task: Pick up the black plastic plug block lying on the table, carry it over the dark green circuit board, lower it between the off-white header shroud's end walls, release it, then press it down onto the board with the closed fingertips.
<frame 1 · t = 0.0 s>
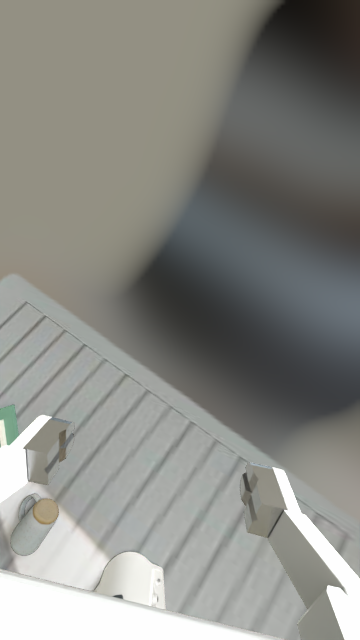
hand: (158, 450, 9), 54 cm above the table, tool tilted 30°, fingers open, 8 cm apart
ceramic mug: (42, 510, 56), on the table
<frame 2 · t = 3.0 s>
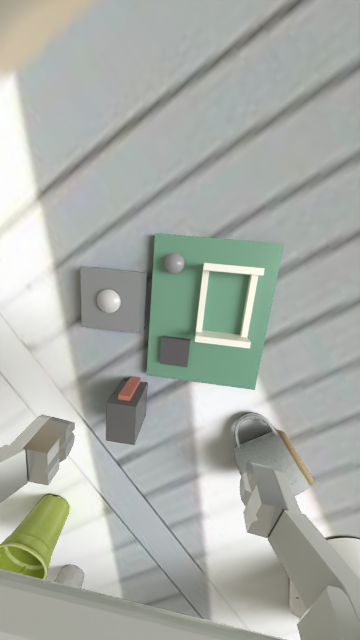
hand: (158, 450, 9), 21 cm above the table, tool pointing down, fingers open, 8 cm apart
plant pot: (56, 504, 40), on the table
house plant: (69, 573, 45), on the table
ceramic mug: (257, 437, 33), on the table
gray push button box: (119, 298, 29), on the table
board: (207, 314, 29), on the table
plug: (134, 397, 33), on the table
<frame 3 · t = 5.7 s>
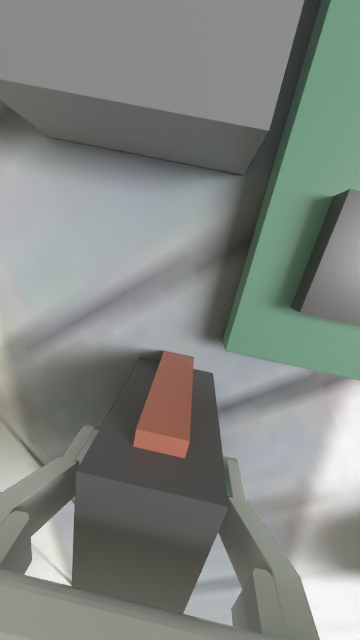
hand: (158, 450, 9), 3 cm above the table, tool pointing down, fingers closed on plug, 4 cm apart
gray push button box: (160, 13, 7), on the table
plug: (166, 409, 12), on the table, touching gripper
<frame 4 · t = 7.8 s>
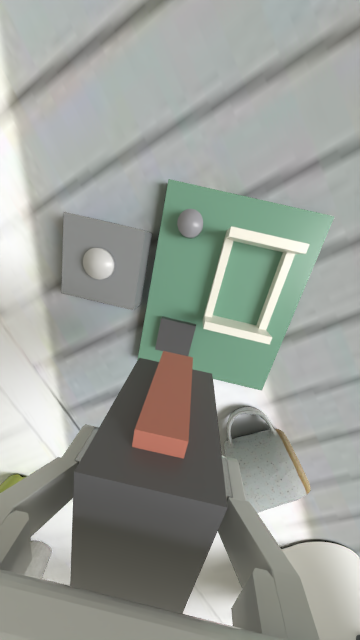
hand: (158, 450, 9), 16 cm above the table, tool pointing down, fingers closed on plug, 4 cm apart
plant pot: (24, 484, 37), on the table
house plant: (36, 548, 43), on the table
ceramic mug: (250, 433, 29), on the table
gray push button box: (112, 262, 23), on the table
board: (220, 297, 23), on the table
plug: (166, 409, 12), point 14 cm above the table, touching gripper
when the fingers open (5 cm above the table, at t = 10.0 s): plug drops 1 cm, resting on board.
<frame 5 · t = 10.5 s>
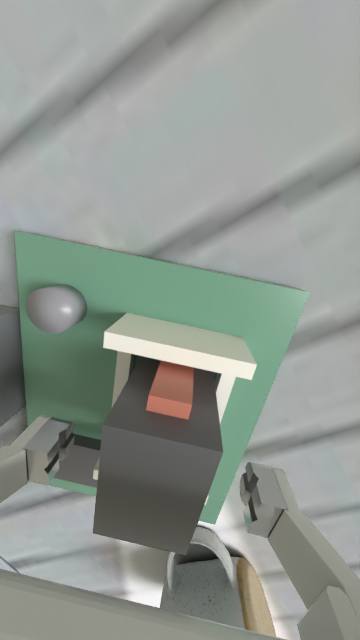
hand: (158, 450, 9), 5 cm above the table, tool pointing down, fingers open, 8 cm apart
ceramic mug: (207, 553, 21), on the table
board: (141, 398, 15), on the table
plug: (170, 392, 13), point 1 cm above the table, touching board
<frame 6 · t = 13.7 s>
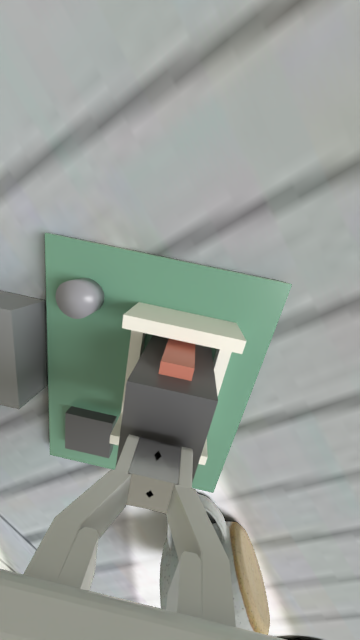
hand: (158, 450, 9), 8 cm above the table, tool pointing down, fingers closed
ceramic mug: (203, 520, 23), on the table
gray push button box: (0, 335, 17), on the table
board: (148, 378, 17), on the table
plug: (174, 372, 15), point 1 cm above the table, touching board
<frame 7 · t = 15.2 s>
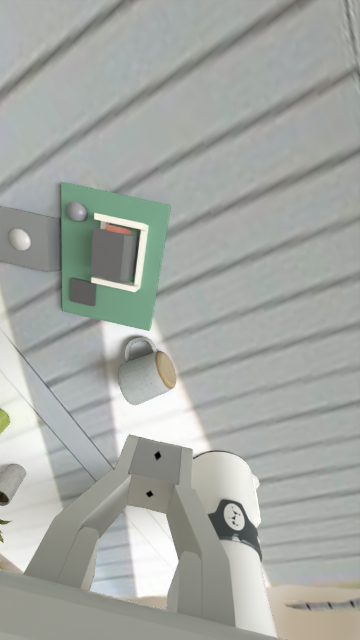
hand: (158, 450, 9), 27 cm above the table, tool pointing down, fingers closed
house plant: (14, 471, 56), on the table
ceramic mug: (148, 359, 40), on the table
gray push button box: (37, 240, 33), on the table
board: (112, 263, 33), on the table
plug: (123, 254, 32), point 1 cm above the table, touching board
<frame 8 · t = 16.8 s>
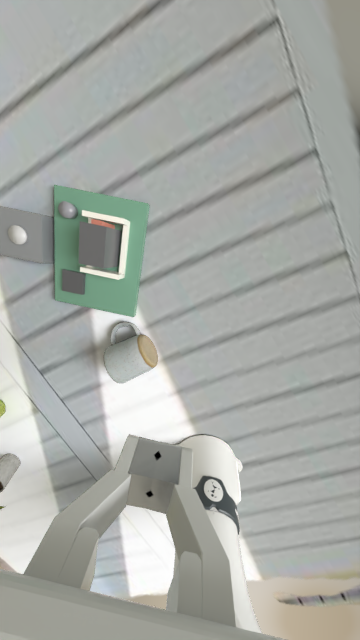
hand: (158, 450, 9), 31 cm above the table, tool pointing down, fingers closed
house plant: (9, 461, 58), on the table
ceramic mug: (133, 343, 43), on the table
gray push button box: (33, 236, 38), on the table
board: (100, 256, 38), on the table
plug: (108, 247, 36), point 1 cm above the table, touching board
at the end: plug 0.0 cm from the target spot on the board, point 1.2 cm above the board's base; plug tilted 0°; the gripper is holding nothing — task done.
